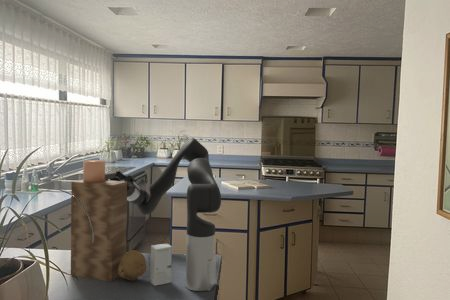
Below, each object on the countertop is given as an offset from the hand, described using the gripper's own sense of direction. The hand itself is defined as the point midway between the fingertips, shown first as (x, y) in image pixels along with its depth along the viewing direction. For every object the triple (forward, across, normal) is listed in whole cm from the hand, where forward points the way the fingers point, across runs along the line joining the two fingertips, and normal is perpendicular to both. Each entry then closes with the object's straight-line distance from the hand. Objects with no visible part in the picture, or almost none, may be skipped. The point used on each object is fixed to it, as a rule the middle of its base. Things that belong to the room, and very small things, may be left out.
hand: (106, 172), depth 127 cm
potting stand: (-12, +2, +33) cm, 35 cm away
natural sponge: (-11, +16, +34) cm, 39 cm away
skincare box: (-13, +25, +33) cm, 43 cm away
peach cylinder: (+1, 0, +3) cm, 3 cm away
